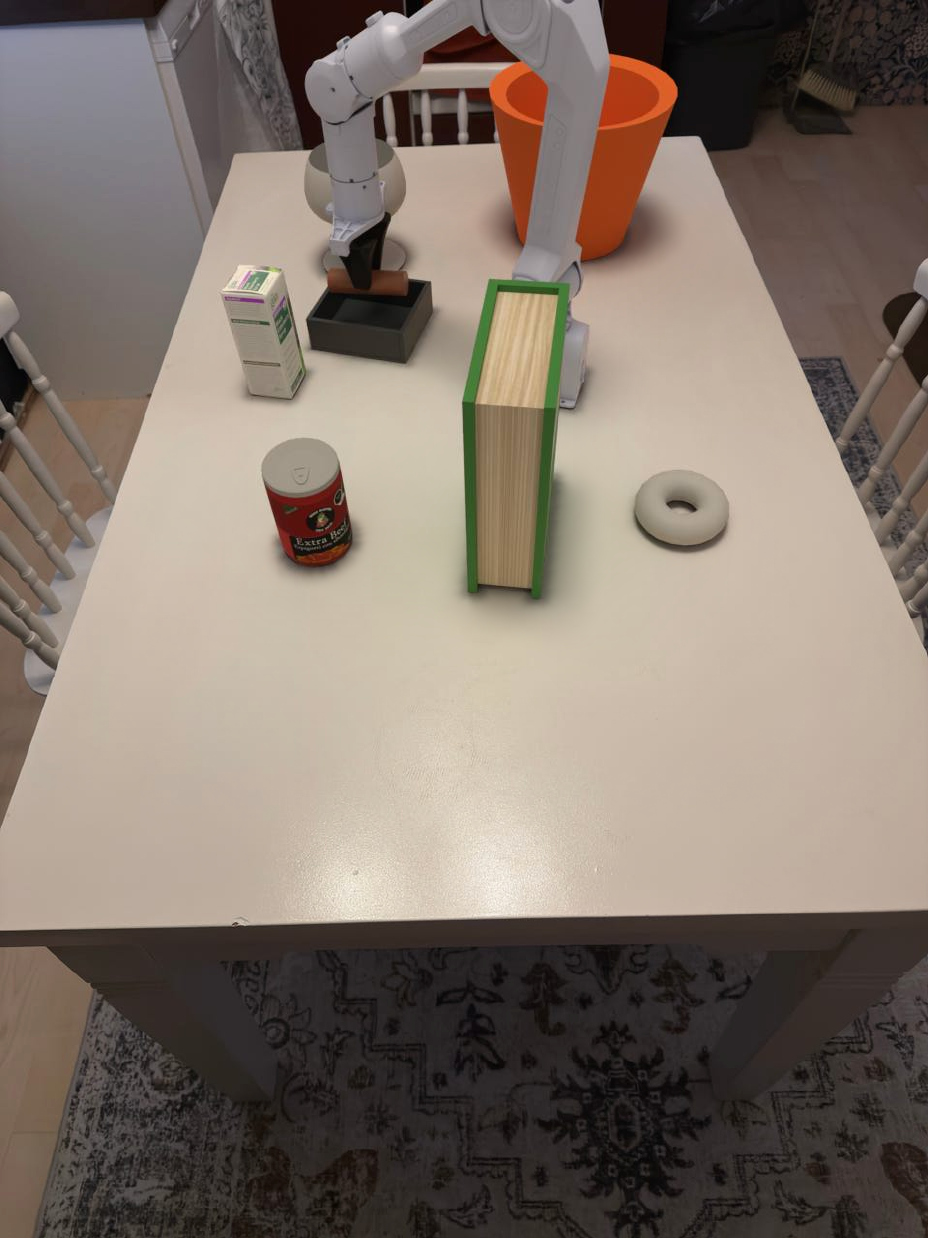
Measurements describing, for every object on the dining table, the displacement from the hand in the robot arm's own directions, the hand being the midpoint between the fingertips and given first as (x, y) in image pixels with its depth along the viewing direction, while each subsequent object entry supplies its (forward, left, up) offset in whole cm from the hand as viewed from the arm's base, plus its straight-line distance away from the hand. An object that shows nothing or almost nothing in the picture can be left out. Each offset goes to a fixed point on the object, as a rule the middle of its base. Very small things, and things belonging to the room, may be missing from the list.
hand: (367, 280), depth 107 cm
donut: (-44, +25, -7) cm, 51 cm away
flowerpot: (-21, -31, -7) cm, 38 cm away
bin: (0, 0, -7) cm, 7 cm away
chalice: (+7, -16, -7) cm, 19 cm away
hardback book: (-27, +32, -7) cm, 42 cm away
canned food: (-7, +38, -7) cm, 39 cm away
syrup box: (+8, +14, -7) cm, 18 cm away
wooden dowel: (0, +1, -1) cm, 2 cm away
